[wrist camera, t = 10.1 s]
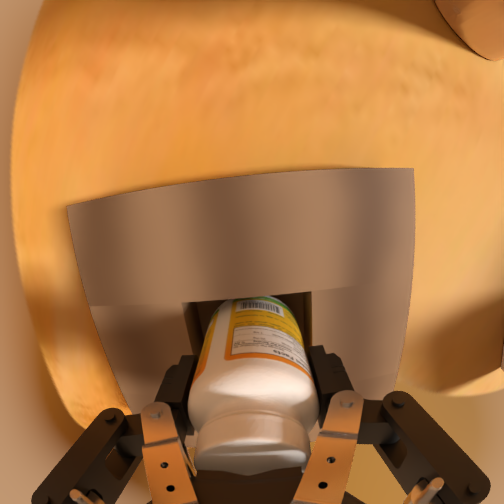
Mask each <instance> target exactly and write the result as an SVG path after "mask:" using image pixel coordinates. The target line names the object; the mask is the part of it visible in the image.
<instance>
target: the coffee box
mask: <svg viewBox="0 0 504 504" xmlns="http://www.w3.org/2000/svg"><path fill="white" fill-rule="evenodd" d="M501 369H502V370H503V371H504V346H503V356H502V364H501Z"/></svg>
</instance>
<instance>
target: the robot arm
mask: <svg viewBox="0 0 504 504" xmlns="http://www.w3.org/2000/svg"><path fill="white" fill-rule="evenodd" d="M435 3H436V5H437V7H438V9H439V11H440V12H441V14H442V15H443V17H444V18H445V20H446V21H447V22H448V24H449V25H450V26H451V28H452V29H453V30H454V31H455V32H456V34H457V35H458V36H459V37H460V38H461V39H462V40H463V41H464V42H465V43H466V44H467V45H468V46H469V47H470V48H472V49H473V50H474V51H475V52H476V53H478V54H479V55H481V56H483V57H484V58H487V59H489V60H493V61H497V60H500V59H503V58H504V0H435ZM307 358H308V362H309V365H310V369H311V372H312V376H313V379H314V383H315V386H316V390H317V394H318V398H319V416H318V423H319V428H320V429H322V431H321V432H319V434H318V436H317V439H316V442H315V445H314V448H313V450H312V453H311V456H310V459H309V461H308V464H307V466H306V469H305V472H304V473H302V468H301V466H299V467H290V468H280V469H273V470H270V471H266V472H262V473H258V474H254V475H241V474H236V473H231V472H226V471H215V470H197V475H196V473H195V470H194V467H193V464H192V461H191V459H190V455H189V452H188V449H187V446H186V444H185V438H186V435H187V436H194V431H195V429H194V427H193V425H192V424H191V421H190V419H189V415H188V399H189V393H190V389H191V385H192V382H193V378H194V375H195V372H196V368H197V364H198V361H199V359H198V356H197V355H182V356H181V358H180V361H179V364H178V365H172V366H171V367H170V368H169V369H168V370H167V371H166V373H165V376H164V379H163V380H162V384H161V385H160V388H159V390H158V393H157V395H156V397H155V400H154V402H153V403H150V404H148V405H146V406H145V407H144V408H143V409H142V411H141V413H139V414H133V415H126V416H125V415H124V413H123V412H122V411H121V410H120V409H117V408H109V409H106V410H103V411H102V412H101V413H100V414H99V415H98V416H97V417H96V418H95V419H94V421H93V422H92V423H91V424H90V425H89V427H88V428H87V429H86V430H85V431H84V433H83V434H82V435H81V436H80V437H79V439H78V440H77V441H76V442H75V443H74V445H73V446H72V447H71V448H70V449H69V451H68V452H67V453H66V454H65V456H64V457H63V458H62V459H61V461H59V463H58V464H57V465H56V466H55V468H54V469H53V470H52V471H51V472H50V474H49V475H48V476H47V477H46V479H45V480H44V481H43V482H42V484H41V485H40V486H39V487H38V488H37V490H36V491H35V492H34V493H33V495H32V500H31V502H32V504H115V502H116V501H117V499H118V498H119V496H120V494H121V493H122V491H123V490H124V488H125V486H126V485H127V483H128V481H129V480H130V478H131V477H132V475H133V473H134V472H135V470H136V468H137V467H138V465H139V463H140V462H141V460H142V458H144V464H145V470H146V475H147V480H148V484H149V489H150V494H151V498H152V500H151V501H150V502H149V503H147V504H365V503H364V502H362V501H360V500H359V499H357V498H356V497H354V496H353V495H351V494H349V493H348V492H346V491H345V489H346V485H347V481H348V478H349V474H350V469H351V466H352V462H353V457H354V452H355V448H356V444H373V446H374V447H375V449H376V450H377V452H378V453H379V455H380V456H381V458H382V459H383V460H384V462H385V464H386V465H387V466H388V468H389V469H390V471H391V472H392V474H393V475H394V477H395V478H396V479H397V481H398V482H399V484H400V485H401V487H402V488H403V490H404V491H405V493H406V494H407V497H406V498H405V500H404V502H403V504H479V503H481V502H482V501H483V500H484V499H485V498H486V497H487V495H488V494H489V491H490V487H491V485H490V480H489V478H488V477H487V476H486V475H485V474H484V473H483V472H482V471H481V469H480V468H479V467H478V466H477V465H476V464H475V463H474V462H473V461H472V460H471V459H470V458H469V456H468V455H467V454H466V453H465V452H464V451H463V450H462V449H461V448H460V447H459V446H458V445H457V444H456V443H455V442H454V440H453V439H452V438H451V437H450V436H449V435H448V434H447V433H446V432H445V431H444V430H443V429H442V428H441V427H440V426H439V425H438V424H437V422H435V420H433V418H432V417H431V416H430V415H429V414H428V413H427V412H426V411H425V410H424V409H423V408H422V407H421V406H420V405H419V404H418V403H417V402H416V400H415V399H414V398H413V397H412V396H411V395H409V394H408V393H406V392H403V391H393V392H390V393H388V394H387V395H386V396H385V397H384V398H383V400H368V399H364V398H363V397H362V396H361V395H360V394H359V393H358V392H355V391H354V388H353V386H352V384H351V381H350V379H349V377H348V374H347V372H346V370H345V367H344V366H343V363H342V360H341V358H340V357H338V356H337V355H336V354H335V353H329V354H326V352H325V349H324V347H323V345H316V346H309V347H308V349H307ZM113 447H114V449H113ZM112 449H113V450H112ZM111 450H112V452H111ZM110 452H111V453H110ZM109 453H110V455H109V456H108V454H109ZM107 456H108V457H107ZM106 457H107V459H106ZM105 459H106V460H105Z"/></svg>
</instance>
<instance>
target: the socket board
mask: <svg viewBox="0 0 504 504" xmlns="http://www.w3.org/2000/svg"><path fill="white" fill-rule="evenodd" d="M67 212H68V218H69V224H70V230H71V235H72V241H73V245H74V250H75V255H76V259H77V264H78V268H79V272H80V276H81V280H82V283H83V287H84V291H85V294H86V298H87V301H88V304H89V308H90V311H91V314H92V317H93V320H94V323H95V326H96V329H97V332H98V335H99V338H100V340H101V343H102V346H103V349H104V351H105V354H106V356H107V359H108V361H109V364H110V366H111V369H112V371H113V373H114V376H115V378H116V380H117V383H118V385H119V387H120V389H121V392H122V394H123V396H124V398H125V400H126V402H127V404H128V406H129V408H130V410H131V412H132V414H139V413H141V411H142V409H143V408H144V407H145V406H146V405H148V404H150V403H153V402H154V400H155V397H156V395H157V393H158V390H159V388H160V385H161V384H162V380H163V379H164V376H165V373H166V371H167V370H168V369H169V368H170V367H171V366H172V365H178V364H179V361H180V358H181V356H182V355H197V356H198V359H199V357H200V354H201V351H202V347H203V343H204V340H205V336H206V332H207V329H208V325H209V323H210V320H211V317H212V316H213V314H214V312H215V311H216V310H217V308H218V307H219V306H220V305H221V304H223V303H224V302H225V301H227V300H228V299H237V298H249V297H260V296H272V297H274V298H276V299H278V300H280V301H282V302H283V303H284V304H286V305H287V306H288V307H289V308H290V310H291V311H292V312H293V314H294V316H295V318H296V320H297V323H298V326H299V329H300V333H301V336H302V340H303V343H304V347H305V350H306V354H307V349H308V347H309V346H316V345H323V347H324V349H325V352H326V354H329V353H335V354H336V355H337V356H338V357H340V358H341V360H342V363H343V366H344V367H345V370H346V372H347V374H348V377H349V379H350V381H351V384H352V386H353V388H354V391H355V392H358V393H359V394H360V395H361V396H362V397H363V398H364V399H368V400H383V398H384V397H385V396H386V395H387V394H388V393H390V392H393V391H394V387H395V383H396V378H397V374H398V370H399V365H400V360H401V356H402V350H403V345H404V340H405V334H406V328H407V321H408V314H409V307H410V298H411V289H412V279H413V266H414V249H415V184H414V168H352V169H326V170H307V171H292V172H279V173H267V174H257V175H247V176H237V177H229V178H220V179H212V180H204V181H197V182H190V183H183V184H177V185H170V186H164V187H158V188H152V189H146V190H141V191H135V192H130V193H125V194H119V195H114V196H109V197H105V198H100V199H95V200H91V201H86V202H82V203H78V204H73V205H69V206H67ZM321 431H322V429H320V428H319V423H318V419H317V422H316V424H315V426H314V427H313V429H312V430H311V431H310V433H309V434H308V436H309V439H310V442H312V441H316V439H317V436H318V434H319V432H321ZM197 436H198V433H197V431H196V430H195V431H194V436H187V435H186V438H185V444H186V446H187V447H194V448H196V441H197Z"/></svg>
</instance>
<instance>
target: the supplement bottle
mask: <svg viewBox="0 0 504 504" xmlns="http://www.w3.org/2000/svg"><path fill="white" fill-rule="evenodd" d="M188 415H189V419H190V421H191V424H192V425H193V427H194V429H195V430H196V431H197V433H198V436H197V441H196V450H195V455H194V466H195V469H196V470H215V471H226V472H231V473H236V474H241V475H254V474H258V473H262V472H266V471H270V470H273V469H280V468H290V467H299V466H301V468H302V473H304V472H305V469H306V466H307V464H308V461H309V459H310V456H311V450H310V439H309V436H308V434H309V433H310V431H311V430H312V429H313V427H314V426H315V424H316V422H317V419H318V416H319V398H318V394H317V390H316V386H315V383H314V379H313V376H312V372H311V369H310V365H309V362H308V358H307V354H306V350H305V347H304V343H303V340H302V336H301V333H300V329H299V326H298V323H297V320H296V318H295V316H294V314H293V312H292V311H291V310H290V308H289V307H288V306H287V305H286V304H284V303H283V302H282V301H280V300H278V299H276V298H274V297H272V296H260V297H249V298H237V299H228V300H227V301H225V302H224V303H223V304H221V305H220V306H219V307H218V308H217V310H216V311H215V312H214V314H213V316H212V317H211V320H210V323H209V325H208V329H207V332H206V336H205V340H204V343H203V347H202V351H201V354H200V357H199V361H198V364H197V368H196V372H195V375H194V378H193V382H192V385H191V389H190V393H189V399H188Z"/></svg>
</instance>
